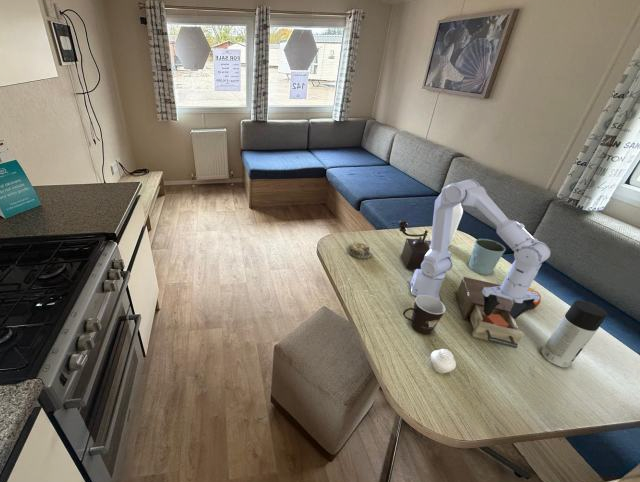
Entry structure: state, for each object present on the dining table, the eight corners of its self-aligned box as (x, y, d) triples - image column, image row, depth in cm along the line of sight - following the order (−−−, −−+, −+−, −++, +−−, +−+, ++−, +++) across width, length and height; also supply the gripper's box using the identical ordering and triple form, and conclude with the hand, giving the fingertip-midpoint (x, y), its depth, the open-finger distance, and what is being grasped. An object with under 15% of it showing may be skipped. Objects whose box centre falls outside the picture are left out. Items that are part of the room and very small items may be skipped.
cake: (344, 255, 138) (345, 244, 136) (352, 246, 146) (353, 235, 143) (366, 261, 133) (368, 250, 131) (373, 251, 140) (375, 241, 138)
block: (489, 334, 96) (494, 324, 94) (480, 323, 100) (485, 313, 98) (503, 334, 96) (509, 324, 94) (493, 324, 100) (499, 314, 98)
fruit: (548, 312, 107) (544, 295, 104) (521, 317, 110) (517, 301, 107) (535, 297, 114) (530, 280, 111) (510, 302, 117) (505, 286, 114)
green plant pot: (498, 270, 130) (509, 246, 124) (487, 279, 125) (499, 254, 119) (472, 259, 137) (482, 236, 132) (461, 266, 132) (471, 242, 126)
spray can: (572, 372, 88) (612, 320, 78) (542, 361, 91) (577, 310, 81) (566, 355, 93) (604, 305, 83) (538, 345, 96) (571, 296, 86)
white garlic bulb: (455, 380, 84) (464, 363, 81) (431, 376, 85) (439, 359, 82) (446, 360, 90) (454, 344, 86) (424, 357, 91) (431, 340, 87)
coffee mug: (433, 321, 103) (442, 298, 99) (437, 340, 96) (448, 317, 91) (396, 312, 107) (403, 290, 102) (398, 330, 99) (406, 307, 95)
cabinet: (507, 330, 101) (517, 312, 97) (464, 319, 105) (472, 302, 101) (495, 301, 113) (503, 285, 109) (456, 292, 117) (463, 276, 113)
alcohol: (449, 240, 151) (471, 183, 137) (451, 249, 144) (474, 189, 130) (429, 236, 154) (448, 180, 140) (430, 245, 147) (450, 186, 133)
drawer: (520, 358, 90) (529, 344, 87) (476, 346, 94) (483, 332, 91) (502, 317, 105) (509, 304, 102) (464, 308, 108) (470, 295, 105)
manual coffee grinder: (424, 257, 137) (436, 222, 129) (432, 272, 128) (446, 235, 119) (388, 253, 140) (397, 218, 131) (393, 267, 130) (404, 230, 122)
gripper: (498, 286, 86) (480, 321, 93) (555, 292, 85) (533, 327, 91) (485, 271, 92) (469, 305, 99) (538, 276, 91) (518, 310, 97)
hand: (499, 315), depth 95 cm, fingers open, 7 cm apart
